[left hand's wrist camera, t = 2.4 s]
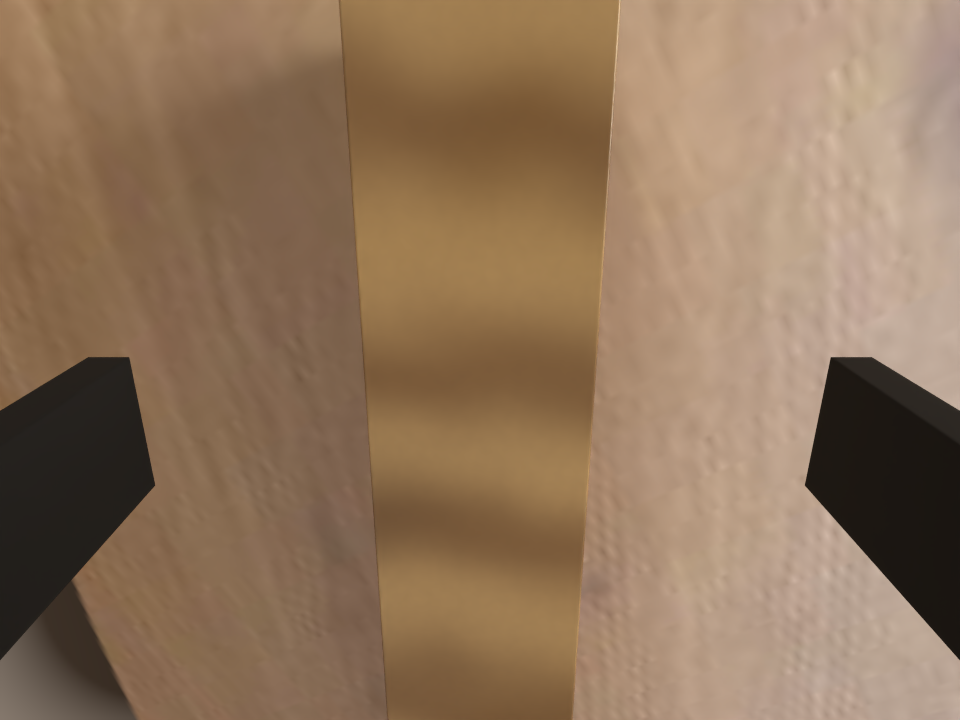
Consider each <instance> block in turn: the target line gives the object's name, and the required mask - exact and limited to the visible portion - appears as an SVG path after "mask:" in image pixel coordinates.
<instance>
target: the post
mask: <svg viewBox="0 0 960 720" xmlns="http://www.w3.org/2000/svg"><path fill="white" fill-rule="evenodd" d="M620 8H621V0H339V9H340V24H341V39H342V53H343V68H344V83H345V98H346V113H347V127H348V142H349V157H350V172H351V187H352V201H353V216H354V231H355V246H356V260H357V275H358V290H359V305H360V320H361V334H362V349H363V364H364V379H365V394H366V408H367V423H368V438H369V453H370V468H371V482H372V497H373V512H374V527H375V542H376V556H377V571H378V586H379V601H380V615H381V630H382V645H383V660H384V675H385V689H386V704H387V719H388V720H572V718H573V703H574V688H575V674H576V659H577V644H578V629H579V614H580V600H581V585H582V570H583V555H584V540H585V526H586V511H587V496H588V481H589V466H590V452H591V437H592V422H593V407H594V392H595V378H596V363H597V348H598V333H599V318H600V304H601V289H602V274H603V259H604V245H605V230H606V215H607V200H608V185H609V171H610V156H611V141H612V126H613V111H614V97H615V82H616V67H617V52H618V37H619V23H620Z"/></svg>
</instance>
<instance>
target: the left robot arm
mask: <svg viewBox="0 0 960 720" xmlns="http://www.w3.org/2000/svg"><path fill="white" fill-rule="evenodd" d="M154 486H155V482H154V477H153V473H152V468H151V463H150V458H149V453H148V448H147V443H146V438H145V433H144V428H143V423H142V418H141V413H140V408H139V404H138V399H137V394H136V389H135V384H134V379H133V374H132V369H131V364H130V359H129V357H88V358H86V359H85V360H83V361H81V362H80V363H78V364H76V365H75V366H73V367H71V368H70V369H68V370H67V371H65V372H63V373H62V374H60V375H58V376H57V377H55V378H53V379H52V380H50V381H48V382H47V383H45V384H44V385H42V386H40V387H39V388H37V389H35V390H34V391H32V392H30V393H29V394H27V395H25V396H24V397H22V398H21V399H19V400H17V401H16V402H14V403H12V404H11V405H9V406H7V407H6V408H4V409H2V410H1V411H0V660H1V659H2V657H3V656H4V655H5V654H6V653H7V652H8V651H9V650H10V648H11V647H12V646H13V645H14V644H15V643H16V642H17V641H18V639H19V638H20V637H21V636H22V635H23V634H24V633H25V632H26V630H27V629H28V628H29V627H30V626H31V625H32V624H33V623H34V621H35V620H36V619H37V618H38V617H39V616H40V615H41V614H42V612H43V611H44V610H45V609H46V608H47V607H48V606H49V604H50V603H51V602H52V601H53V600H54V599H55V598H56V597H57V595H58V594H59V593H60V592H61V591H62V590H63V589H64V588H65V586H66V585H67V584H68V583H69V582H70V581H71V580H72V579H73V577H74V576H75V575H76V574H77V573H78V572H79V571H80V570H81V568H82V567H83V566H84V565H85V564H86V563H87V562H88V561H89V559H90V558H91V557H92V556H93V555H94V554H95V553H96V551H97V550H98V549H99V548H100V547H101V546H102V545H103V544H104V542H105V541H106V540H107V539H108V538H109V537H110V536H111V535H112V533H113V532H114V531H115V530H116V529H117V528H118V527H119V526H120V524H121V523H122V522H123V521H124V520H125V519H126V518H127V517H128V515H129V514H130V513H131V512H132V511H133V510H134V509H135V508H136V506H137V505H138V504H139V503H140V502H141V501H142V500H143V498H144V497H145V496H146V495H147V494H148V493H149V492H150V491H151V489H152V488H153V487H154ZM805 486H806V487H807V488H808V489H809V491H810V492H811V493H812V494H813V495H814V496H815V497H816V498H817V500H818V501H819V502H820V503H821V504H822V505H823V506H824V508H825V509H826V510H827V511H828V512H829V513H830V514H831V515H832V517H833V518H834V519H835V520H836V521H837V522H838V523H839V524H840V526H841V527H842V528H843V529H844V530H845V531H846V532H847V533H848V535H849V536H850V537H851V538H852V539H853V540H854V541H855V542H856V544H857V545H858V546H859V547H860V548H861V549H862V550H863V551H864V553H865V554H866V555H867V556H868V557H869V558H870V559H871V561H872V562H873V563H874V564H875V565H876V566H877V567H878V568H879V570H880V571H881V572H882V573H883V574H884V575H885V576H886V577H887V579H888V580H889V581H890V582H891V583H892V584H893V585H894V586H895V588H896V589H897V590H898V591H899V592H900V593H901V594H902V595H903V597H904V598H905V599H906V600H907V601H908V602H909V603H910V605H911V606H912V607H913V608H914V609H915V610H916V611H917V612H918V614H919V615H920V616H921V617H922V618H923V619H924V620H925V621H926V623H927V624H928V625H929V626H930V627H931V628H932V629H933V630H934V632H935V633H936V634H937V635H938V636H939V637H940V638H941V639H942V641H943V642H944V643H945V644H946V645H947V646H948V647H949V648H950V650H951V651H952V652H953V653H954V654H955V655H956V656H957V658H958V659H959V660H960V411H959V410H958V409H956V408H954V407H953V406H951V405H949V404H948V403H946V402H944V401H943V400H941V399H939V398H938V397H936V396H935V395H933V394H931V393H930V392H928V391H926V390H925V389H923V388H921V387H920V386H918V385H916V384H915V383H913V382H912V381H910V380H908V379H907V378H905V377H903V376H902V375H900V374H898V373H897V372H895V371H893V370H892V369H890V368H889V367H887V366H885V365H884V364H882V363H880V362H879V361H877V360H875V359H874V358H872V357H831V359H830V364H829V369H828V374H827V379H826V384H825V389H824V394H823V399H822V404H821V408H820V413H819V418H818V423H817V428H816V433H815V438H814V443H813V448H812V453H811V458H810V463H809V468H808V473H807V477H806V482H805Z"/></svg>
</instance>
